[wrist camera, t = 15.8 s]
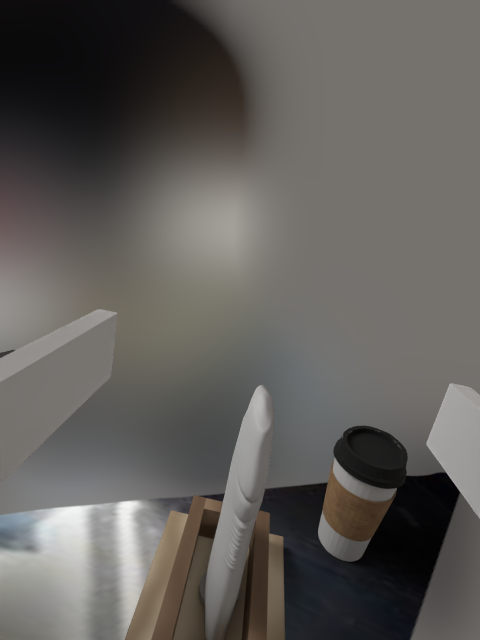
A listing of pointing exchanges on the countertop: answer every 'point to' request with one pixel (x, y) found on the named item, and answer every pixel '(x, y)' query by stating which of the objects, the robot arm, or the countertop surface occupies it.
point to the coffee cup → (360, 489)
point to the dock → (187, 570)
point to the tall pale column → (238, 516)
